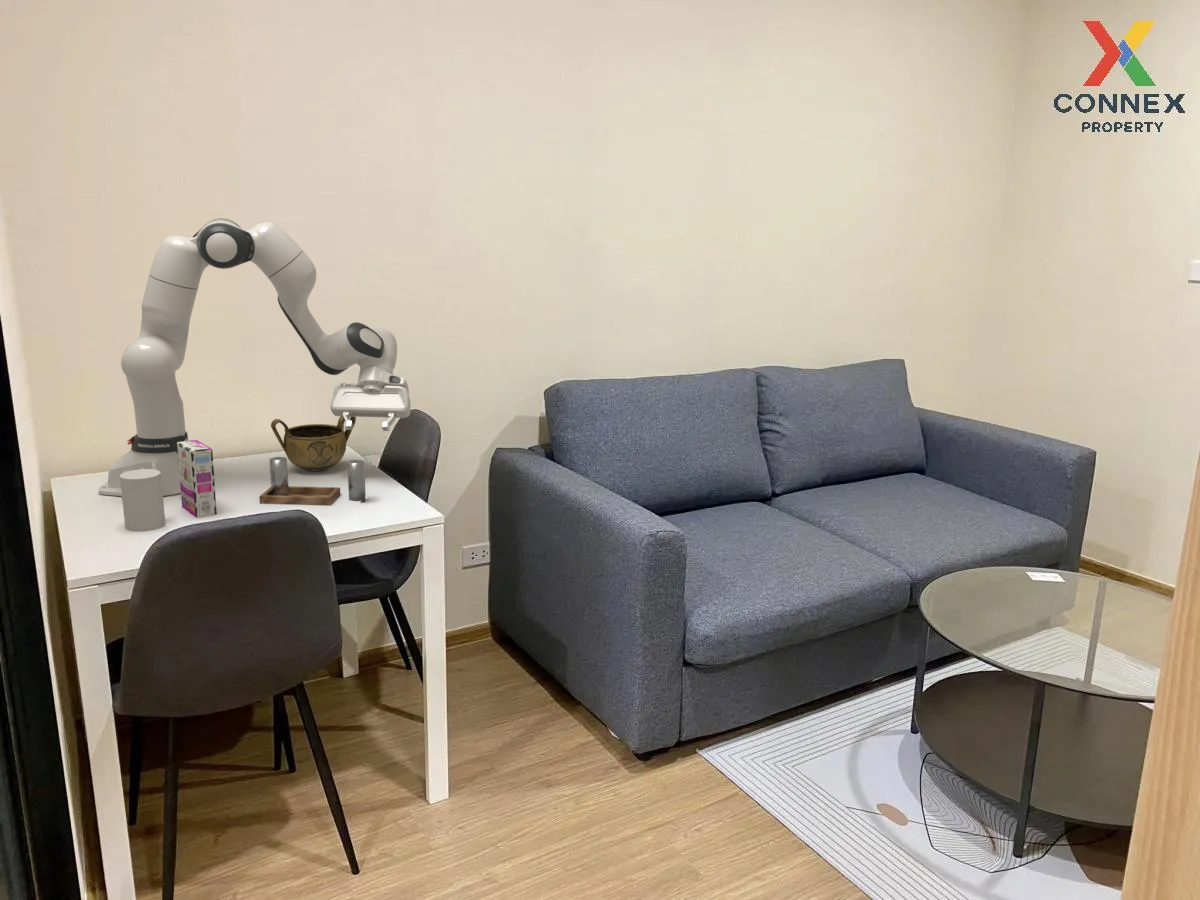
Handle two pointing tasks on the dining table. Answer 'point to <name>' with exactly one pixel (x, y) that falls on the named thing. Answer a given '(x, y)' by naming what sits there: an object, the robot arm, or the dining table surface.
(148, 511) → the cup
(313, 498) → the tray
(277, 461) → the cylinder
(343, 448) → the ceramic bowl
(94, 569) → the dining table surface
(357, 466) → the cylinder
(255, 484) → the dining table surface
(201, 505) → the candy bar box
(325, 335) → the robot arm
